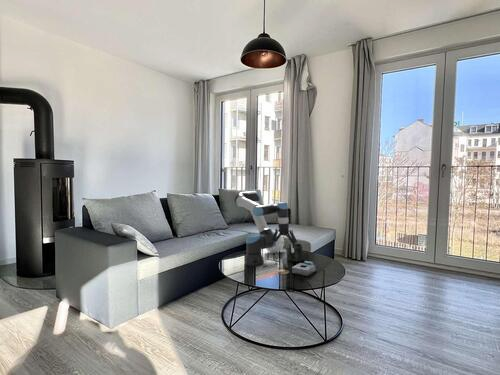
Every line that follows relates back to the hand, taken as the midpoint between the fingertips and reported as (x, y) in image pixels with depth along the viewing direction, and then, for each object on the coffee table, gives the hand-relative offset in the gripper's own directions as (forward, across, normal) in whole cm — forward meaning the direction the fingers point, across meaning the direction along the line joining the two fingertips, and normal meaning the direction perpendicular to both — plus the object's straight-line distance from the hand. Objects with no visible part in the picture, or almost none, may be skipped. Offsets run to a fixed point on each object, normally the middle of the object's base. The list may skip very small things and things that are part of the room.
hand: (284, 251), depth 216 cm
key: (+13, 0, 0) cm, 13 cm away
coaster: (+13, +4, -9) cm, 16 cm away
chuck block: (+13, +15, +1) cm, 20 cm away
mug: (+13, -4, +20) cm, 24 cm away
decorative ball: (+12, -30, +30) cm, 45 cm away
